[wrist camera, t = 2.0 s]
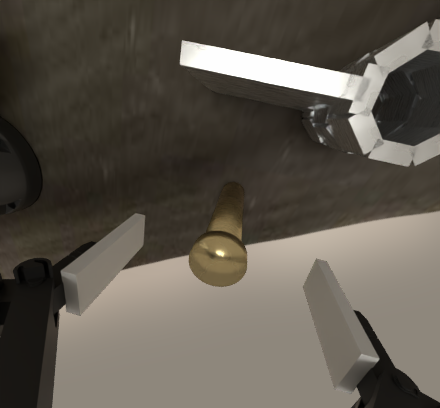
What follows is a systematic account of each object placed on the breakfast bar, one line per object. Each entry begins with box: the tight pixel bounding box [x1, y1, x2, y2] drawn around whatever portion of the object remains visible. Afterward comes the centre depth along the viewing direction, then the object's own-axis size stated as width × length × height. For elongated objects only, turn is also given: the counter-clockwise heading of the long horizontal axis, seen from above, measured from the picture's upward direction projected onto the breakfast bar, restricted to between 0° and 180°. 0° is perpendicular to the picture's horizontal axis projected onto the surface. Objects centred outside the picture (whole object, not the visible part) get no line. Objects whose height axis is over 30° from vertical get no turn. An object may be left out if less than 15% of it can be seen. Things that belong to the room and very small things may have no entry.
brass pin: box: [189, 182, 247, 287], centre depth 21 cm, size 4×4×15 cm
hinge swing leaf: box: [312, 18, 440, 154], centre depth 15 cm, size 18×7×12 cm, turn 134°
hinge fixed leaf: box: [180, 19, 440, 167], centre depth 17 cm, size 18×7×12 cm, turn 79°
